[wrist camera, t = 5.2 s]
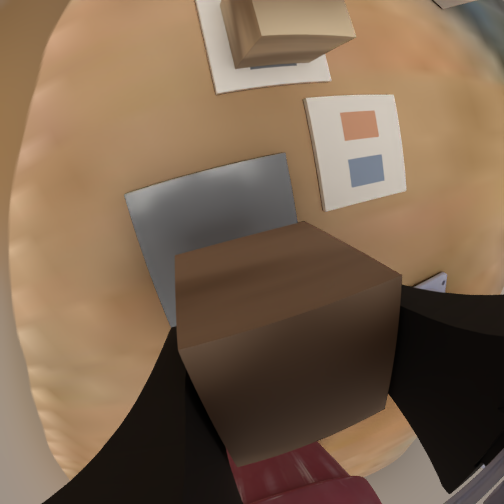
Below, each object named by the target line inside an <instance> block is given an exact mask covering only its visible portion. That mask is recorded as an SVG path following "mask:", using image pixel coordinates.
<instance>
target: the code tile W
mask: <svg viewBox="0 0 504 504" xmlns="http://www.w3.org/2000/svg"><path fill="white" fill-rule="evenodd" d="M303 101H304V106H305V110H306V115H307V120H308V125H309V130H310V135H311V140H312V146H313V151H314V157H315V163H316V169H317V175H318V181H319V187H320V194H321V201H322V208H323V211H325V212H327V211H330V210H334V209H338V208H342V207H346V206H349V205H353V204H357V203H361V202H365V201H368V200H372V199H376V198H380V197H384V196H388V195H392V194H396V193H400V192H404V191H406V178H405V167H404V158H403V149H402V141H401V134H400V128H399V121H398V115H397V110H396V104H395V99H394V95H343V96H326V97H313V98H305V99H303Z"/></svg>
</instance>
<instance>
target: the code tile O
mask: <svg viewBox="0 0 504 504" xmlns="http://www.w3.org/2000/svg"><path fill="white" fill-rule="evenodd" d="M195 3H196V8H197V12H198V17H199V21H200V26H201V30H202V35H203V39H204V44H205V48H206V53H207V57H208V62H209V66H210V70H211V75H212V79H213V84H214V88H215V93H216V95H219V94H224V93H230V92H236V91H242V90H249V89H256V88H263V87H271V86H280V85H290V84H303V83H318V82H330V81H331V76H330V72H329V68H328V64H327V60H326V56H325V54H324V55H322V56H320V57H318V58H317V59H315V60H313V61H311V62H310V63H292V64H277V65H266V66H256V67H248V68H240V69H235V67H234V62H233V58H232V54H231V50H230V45H229V41H228V37H227V33H226V29H225V25H224V21H223V17H222V13H221V9H220V3H221V0H195Z"/></svg>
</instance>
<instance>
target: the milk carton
mask: <svg viewBox="0 0 504 504" xmlns="http://www.w3.org/2000/svg"><path fill="white" fill-rule="evenodd" d="M434 1H435V2H436V3H437V4H438V5H439V6H440V7H441V8H442V9H446V8H449V7H453V6H456V5H460V4H464V3H468V2H472V1H476V0H434Z"/></svg>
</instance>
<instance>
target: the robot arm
mask: <svg viewBox="0 0 504 504" xmlns="http://www.w3.org/2000/svg"><path fill="white" fill-rule="evenodd" d="M446 280H447V274H446V273H444V272H441V273H440V274H438V275H436V276H434V277H432V278H430V279H428V280H426V281H424V282H422V283H421V284H419V285H417V286H415V287H410V286H405V285H401V301H400V313H399V323H398V332H397V341H396V348H395V355H394V362H393V368H392V374H391V380H390V385H389V390H388V394H389V395H390V396H391V398H392V399H393V400H394V402H395V403H396V405H397V406H398V408H399V409H400V410H401V412H402V413H403V415H404V416H405V418H406V419H407V421H408V422H409V424H410V426H411V427H412V429H413V430H414V432H415V434H416V435H417V437H418V438H419V440H420V442H421V444H422V446H423V447H424V449H425V451H426V453H427V455H428V456H429V458H430V460H431V462H432V464H433V466H434V469H435V471H436V472H437V475H438V476H439V479H440V482H441V484H442V486H443V487H444V489H445V490H446V491H447V492H448V493H449V494H451V493H452V492H453V491H454V490H456V489H457V488H458V487H459V486H460V485H462V484H463V483H464V482H465V481H466V480H467V479H468V478H469V477H471V476H472V475H473V474H474V473H475V472H476V471H477V470H478V469H479V468H480V467H481V468H483V470H482V471H481V472H480V473H479V474H478V475H477V476H476V477H475V478H474V479H472V480H471V481H470V482H469V483H468V484H467V485H466V486H465V487H463V488H462V489H461V490H460V491H459V492H457V493H456V494H455V495H454V496H453V497H451V498H450V499H449V500H448V501H446V502H445V503H444V504H476V503H477V502H478V501H479V500H480V499H481V498H482V497H483V496H484V495H485V494H486V493H487V492H488V491H489V490H490V489H491V488H492V487H493V486H494V485H495V484H496V483H497V482H498V481H499V480H500V479H501V478H502V477H503V476H504V295H463V294H453V293H445V289H446ZM42 504H243V502H242V499H241V496H240V494H239V491H238V488H237V485H236V482H235V479H234V476H233V473H232V470H231V467H230V464H229V460H228V455H227V451H226V447H225V445H224V443H223V442H222V440H221V438H220V436H219V434H218V432H217V431H216V429H215V427H214V425H213V423H212V421H211V419H210V417H209V415H208V413H207V411H206V409H205V407H204V405H203V403H202V401H201V399H200V397H199V395H198V393H197V391H196V389H195V387H194V385H193V383H192V380H191V378H190V376H189V374H188V372H187V370H186V367H185V365H184V363H183V361H182V358H181V356H180V354H179V351H178V343H177V326H175V327H172V328H171V330H170V331H169V334H168V336H167V339H166V341H165V343H164V346H163V348H162V350H161V353H160V355H159V357H158V359H157V362H156V364H155V366H154V368H153V370H152V372H151V374H150V376H149V378H148V380H147V382H146V384H145V386H144V388H143V390H142V392H141V393H140V395H139V397H138V399H137V401H136V402H135V404H134V406H133V407H132V409H131V410H130V412H129V413H128V415H127V416H126V418H125V419H124V421H123V422H122V424H121V425H120V426H119V428H118V429H117V430H116V432H115V433H114V434H113V435H112V437H111V438H110V439H109V440H108V442H107V443H106V444H105V445H104V447H103V448H102V449H101V450H100V451H99V453H98V454H97V455H96V456H95V457H94V458H93V459H92V460H91V461H90V462H89V463H88V464H87V465H86V466H85V467H84V468H83V469H82V470H81V471H80V472H79V473H78V474H77V475H76V476H75V477H74V478H73V479H72V480H71V481H70V482H69V483H67V485H65V486H64V487H63V488H61V489H60V490H59V491H58V492H56V493H55V494H54V495H52V496H51V497H50V498H49V499H47V500H46V501H45V502H44V503H42ZM483 504H504V481H503V482H502V483H501V484H500V485H499V486H498V487H497V488H496V489H495V490H494V491H493V492H492V493H491V494H490V495H489V496H488V498H487V499H486V500H485V501H484V502H483Z"/></svg>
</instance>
